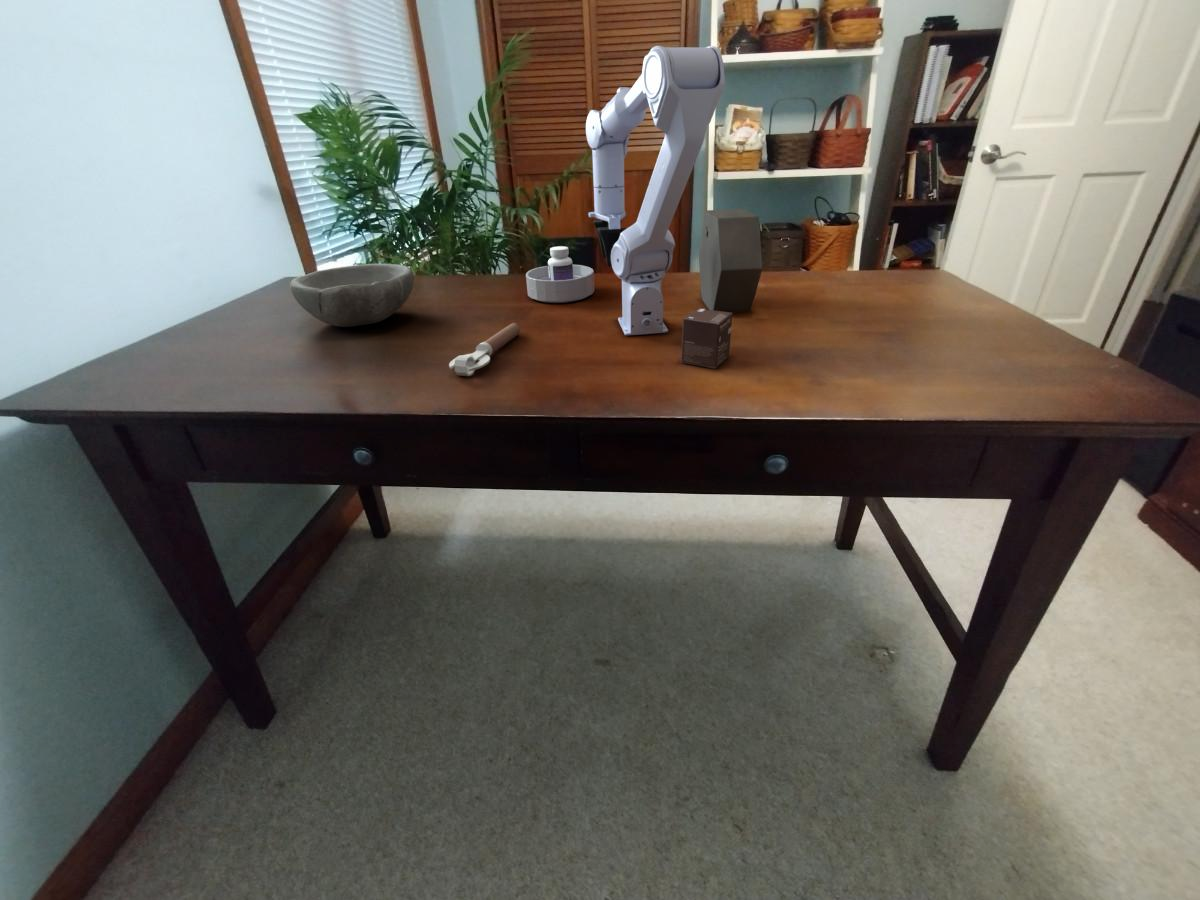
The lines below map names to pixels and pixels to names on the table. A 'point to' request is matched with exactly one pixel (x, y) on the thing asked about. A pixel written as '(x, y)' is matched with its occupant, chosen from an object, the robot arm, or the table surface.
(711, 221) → the planter
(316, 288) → the bowl
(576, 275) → the round gray tray
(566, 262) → the pill bottle
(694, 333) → the box
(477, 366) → the manual can opener
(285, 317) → the table surface
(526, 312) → the table surface
